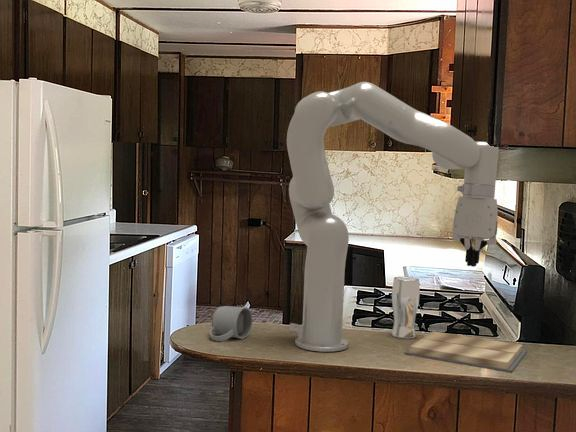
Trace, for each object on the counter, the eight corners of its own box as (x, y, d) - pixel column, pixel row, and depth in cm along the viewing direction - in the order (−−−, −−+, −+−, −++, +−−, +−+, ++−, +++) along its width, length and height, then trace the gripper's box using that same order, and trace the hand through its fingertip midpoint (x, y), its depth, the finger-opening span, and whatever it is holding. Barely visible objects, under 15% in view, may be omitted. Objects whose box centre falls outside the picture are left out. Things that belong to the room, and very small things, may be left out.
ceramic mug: (225, 330, 168) (226, 301, 167) (252, 335, 164) (253, 305, 164) (201, 339, 159) (201, 308, 158) (229, 345, 155) (230, 313, 154)
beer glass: (419, 339, 166) (422, 281, 166) (392, 338, 167) (395, 280, 166) (414, 333, 173) (417, 277, 172) (388, 332, 174) (391, 276, 173)
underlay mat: (404, 354, 152) (404, 352, 152) (429, 337, 170) (429, 335, 170) (511, 372, 141) (511, 370, 141) (526, 352, 158) (526, 350, 158)
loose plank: (421, 344, 160) (422, 338, 160) (432, 336, 168) (432, 331, 168) (515, 359, 150) (515, 352, 150) (521, 350, 158) (522, 344, 158)
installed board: (409, 352, 152) (409, 346, 152) (421, 344, 160) (421, 338, 160) (507, 369, 142) (507, 362, 142) (514, 359, 149) (515, 353, 149)
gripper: (444, 189, 162) (437, 263, 163) (506, 194, 155) (499, 271, 156) (452, 190, 169) (446, 260, 170) (512, 194, 161) (505, 268, 162)
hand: (471, 265), depth 163 cm, fingers closed
